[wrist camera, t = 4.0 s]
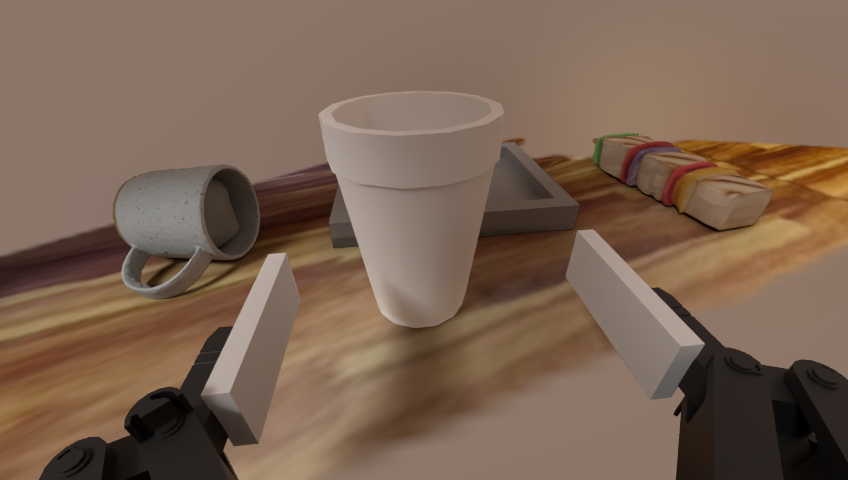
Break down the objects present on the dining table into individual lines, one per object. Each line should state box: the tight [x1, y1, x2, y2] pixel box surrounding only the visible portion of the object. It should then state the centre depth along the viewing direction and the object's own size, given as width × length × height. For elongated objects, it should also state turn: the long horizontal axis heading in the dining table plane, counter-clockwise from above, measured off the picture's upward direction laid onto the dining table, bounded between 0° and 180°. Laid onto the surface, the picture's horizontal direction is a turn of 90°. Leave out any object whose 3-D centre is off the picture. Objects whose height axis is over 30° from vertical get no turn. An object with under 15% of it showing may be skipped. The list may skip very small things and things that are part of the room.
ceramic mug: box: [113, 165, 260, 299], centre depth 27 cm, size 11×8×8 cm
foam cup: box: [319, 91, 504, 328], centre depth 21 cm, size 10×9×13 cm
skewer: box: [593, 133, 774, 230], centre depth 38 cm, size 21×6×5 cm, turn 13°
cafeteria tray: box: [329, 142, 580, 248], centre depth 38 cm, size 22×18×2 cm
